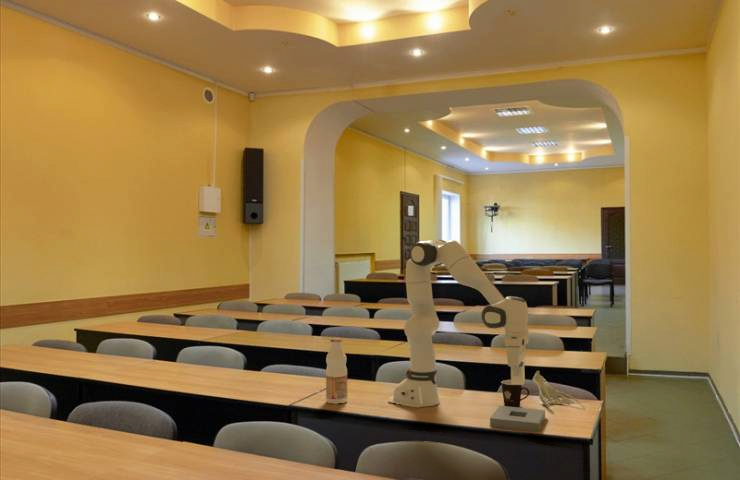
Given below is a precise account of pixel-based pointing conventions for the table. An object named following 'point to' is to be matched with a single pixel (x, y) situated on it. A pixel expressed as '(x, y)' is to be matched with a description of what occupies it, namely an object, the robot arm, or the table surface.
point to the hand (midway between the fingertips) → (517, 374)
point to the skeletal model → (551, 393)
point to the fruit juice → (336, 373)
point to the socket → (518, 418)
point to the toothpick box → (521, 377)
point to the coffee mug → (512, 393)
